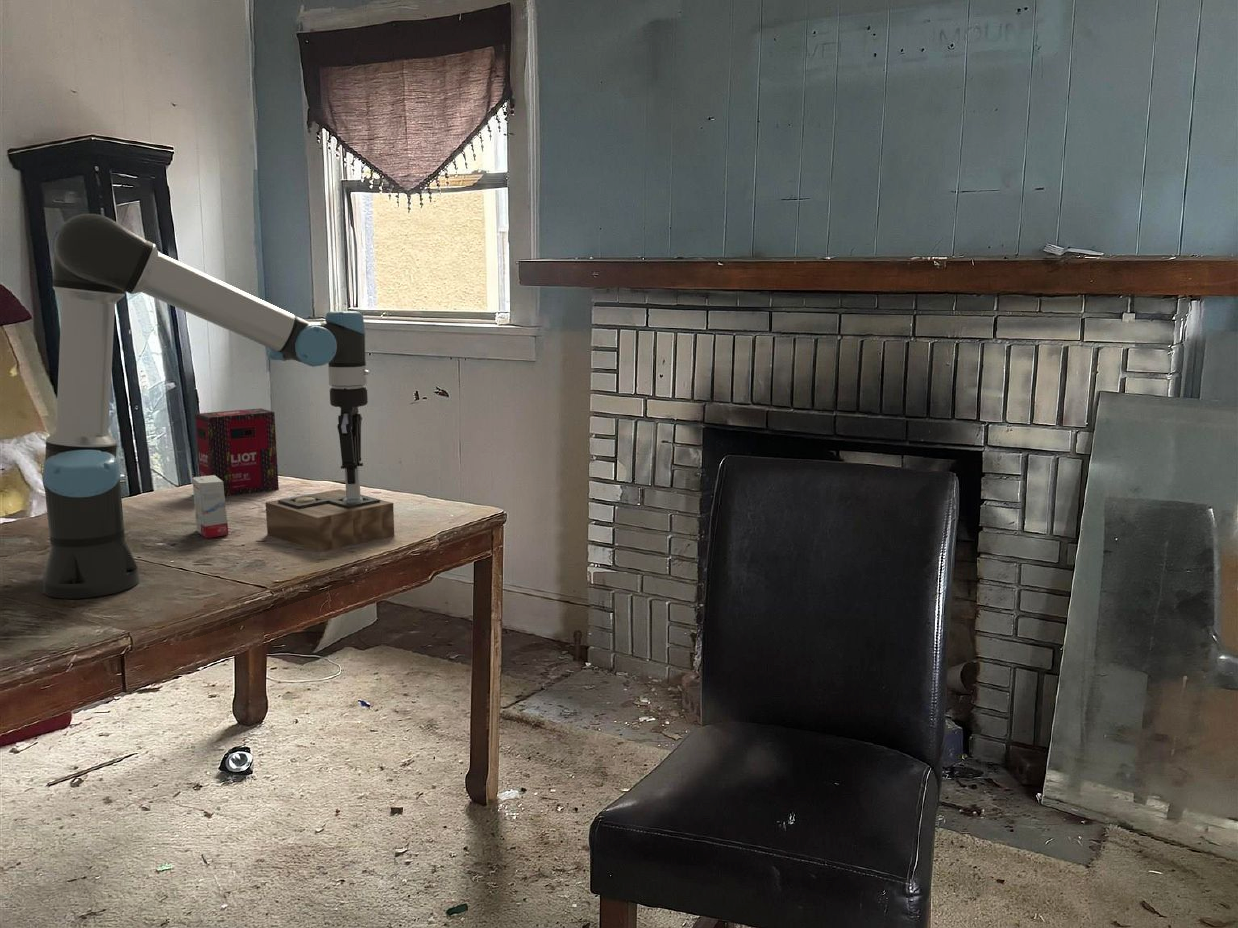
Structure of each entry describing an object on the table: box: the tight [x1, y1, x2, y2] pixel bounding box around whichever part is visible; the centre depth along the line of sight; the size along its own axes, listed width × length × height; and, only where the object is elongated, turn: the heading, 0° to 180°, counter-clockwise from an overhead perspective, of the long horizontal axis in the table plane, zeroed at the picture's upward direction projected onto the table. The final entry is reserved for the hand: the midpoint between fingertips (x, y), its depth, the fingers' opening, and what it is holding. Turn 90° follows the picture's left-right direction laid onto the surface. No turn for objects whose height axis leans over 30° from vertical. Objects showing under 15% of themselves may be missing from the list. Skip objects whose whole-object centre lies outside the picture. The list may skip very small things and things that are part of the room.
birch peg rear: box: [295, 497, 315, 504], centre depth 214 cm, size 4×4×8 cm
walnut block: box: [265, 488, 395, 553], centre depth 215 cm, size 18×20×8 cm
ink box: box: [191, 475, 230, 539], centre depth 215 cm, size 9×5×12 cm, turn 33°
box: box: [194, 407, 280, 498], centre depth 255 cm, size 16×9×20 cm, turn 130°
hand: (353, 497), depth 214 cm, fingers closed
